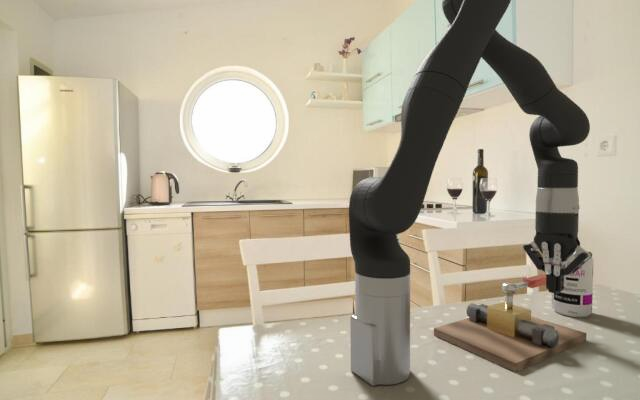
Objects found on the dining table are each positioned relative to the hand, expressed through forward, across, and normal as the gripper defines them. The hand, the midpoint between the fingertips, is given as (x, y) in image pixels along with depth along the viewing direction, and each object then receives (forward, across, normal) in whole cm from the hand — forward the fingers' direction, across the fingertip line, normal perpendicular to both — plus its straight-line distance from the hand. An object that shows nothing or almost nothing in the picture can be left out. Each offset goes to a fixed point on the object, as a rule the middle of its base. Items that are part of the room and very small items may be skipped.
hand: (554, 292), depth 78 cm
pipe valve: (+9, -4, -9) cm, 14 cm away
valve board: (+9, -4, -9) cm, 14 cm away
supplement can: (+9, -5, +18) cm, 21 cm away
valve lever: (-1, -4, -3) cm, 5 cm away
